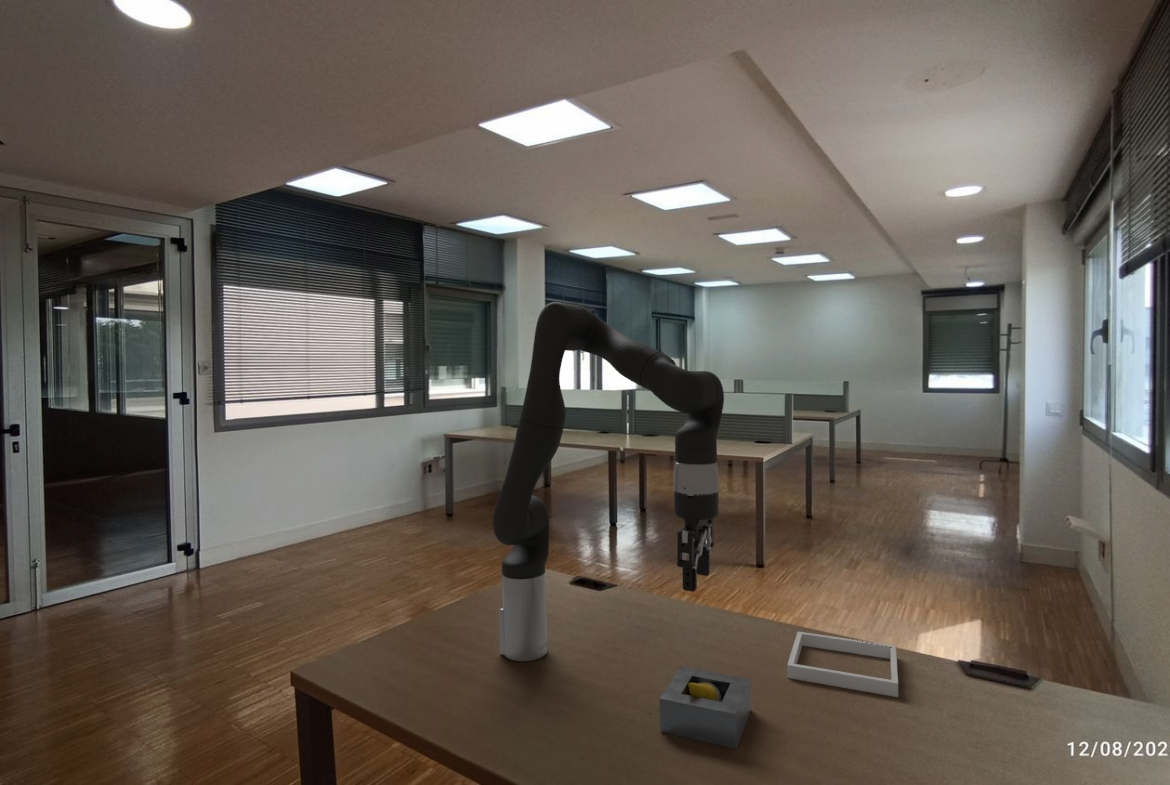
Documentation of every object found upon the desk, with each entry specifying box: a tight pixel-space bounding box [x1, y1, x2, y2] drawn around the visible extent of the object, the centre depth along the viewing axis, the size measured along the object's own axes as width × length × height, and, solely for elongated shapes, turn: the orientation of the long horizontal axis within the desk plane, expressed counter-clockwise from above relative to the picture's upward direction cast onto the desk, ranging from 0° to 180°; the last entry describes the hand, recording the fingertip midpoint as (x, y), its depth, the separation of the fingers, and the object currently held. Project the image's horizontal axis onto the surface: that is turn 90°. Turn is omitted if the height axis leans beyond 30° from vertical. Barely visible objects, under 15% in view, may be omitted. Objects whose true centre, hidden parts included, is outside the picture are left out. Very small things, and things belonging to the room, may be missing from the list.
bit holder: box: [659, 665, 752, 750], centre depth 106 cm, size 12×12×6 cm
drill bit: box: [688, 682, 722, 702], centre depth 105 cm, size 5×5×10 cm
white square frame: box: [786, 631, 899, 698], centre depth 123 cm, size 19×17×2 cm
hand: (696, 582), depth 107 cm, fingers open, 8 cm apart
